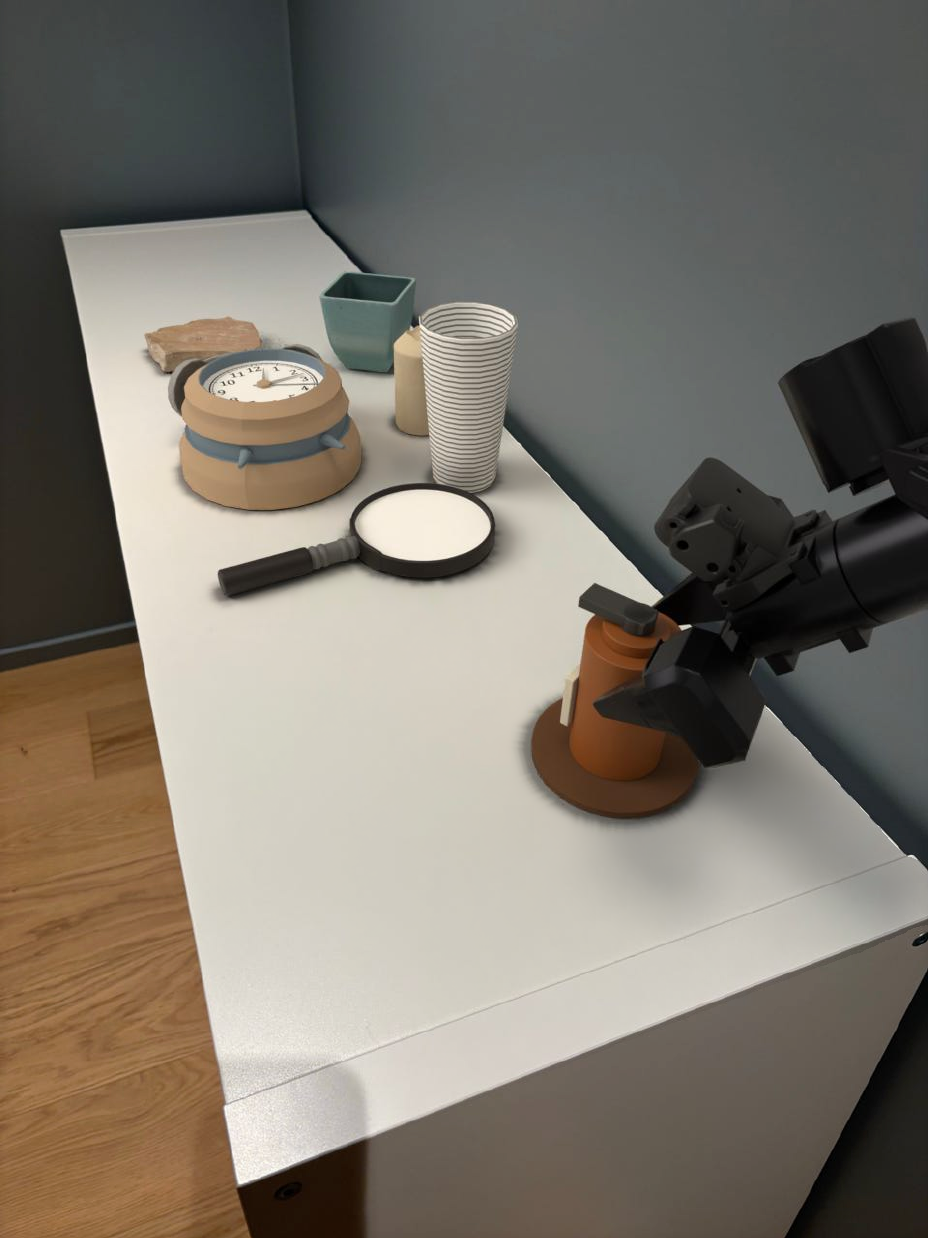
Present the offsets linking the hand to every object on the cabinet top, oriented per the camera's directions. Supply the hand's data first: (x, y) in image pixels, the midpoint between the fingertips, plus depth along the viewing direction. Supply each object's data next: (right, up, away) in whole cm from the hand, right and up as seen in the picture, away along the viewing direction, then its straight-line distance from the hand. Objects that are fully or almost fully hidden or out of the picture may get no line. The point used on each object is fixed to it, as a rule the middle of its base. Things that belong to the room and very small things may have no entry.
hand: (624, 661), depth 57 cm
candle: (-14, +23, +40) cm, 48 cm away
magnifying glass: (-19, +8, +22) cm, 30 cm away
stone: (-39, +33, +51) cm, 73 cm away
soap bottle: (0, -6, +4) cm, 7 cm away
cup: (-10, +16, +32) cm, 37 cm away
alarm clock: (-30, +19, +35) cm, 50 cm away
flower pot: (-21, +32, +51) cm, 64 cm away
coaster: (0, -6, +5) cm, 8 cm away
